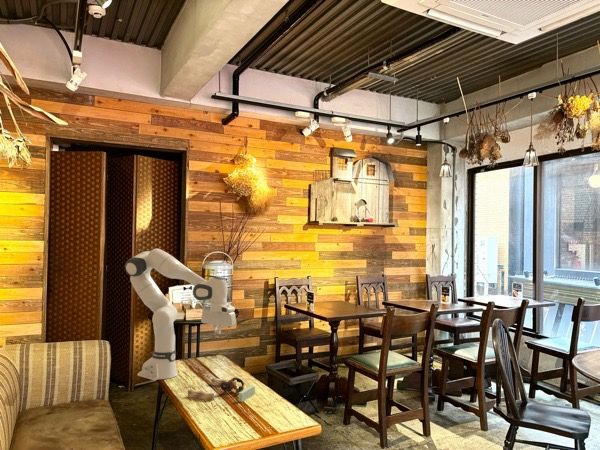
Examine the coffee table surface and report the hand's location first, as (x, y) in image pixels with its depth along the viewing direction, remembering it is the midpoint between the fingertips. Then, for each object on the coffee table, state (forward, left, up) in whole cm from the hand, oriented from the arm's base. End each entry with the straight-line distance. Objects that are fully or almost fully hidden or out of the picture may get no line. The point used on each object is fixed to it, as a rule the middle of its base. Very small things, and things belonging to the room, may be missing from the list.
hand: (217, 333), depth 243 cm
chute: (+5, -11, -27) cm, 30 cm away
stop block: (+25, -11, -27) cm, 38 cm away
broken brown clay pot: (+14, -8, -27) cm, 32 cm away
